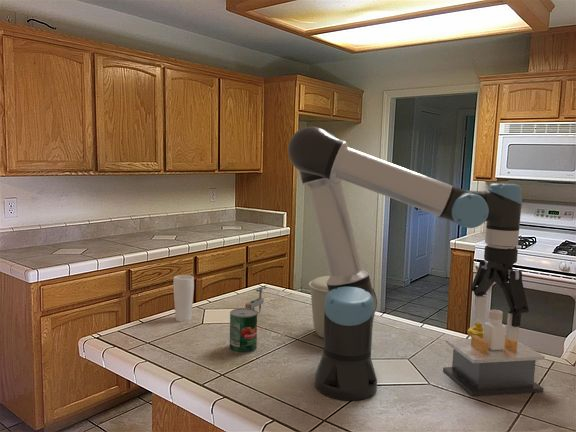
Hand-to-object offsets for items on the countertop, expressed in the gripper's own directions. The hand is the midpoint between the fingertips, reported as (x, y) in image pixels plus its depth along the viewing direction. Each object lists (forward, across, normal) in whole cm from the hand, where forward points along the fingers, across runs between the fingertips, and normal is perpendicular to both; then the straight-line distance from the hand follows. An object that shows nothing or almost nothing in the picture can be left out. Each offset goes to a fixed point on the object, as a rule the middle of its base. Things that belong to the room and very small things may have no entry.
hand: (494, 329), depth 120 cm
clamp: (+14, +57, +54) cm, 80 cm away
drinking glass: (+14, +55, +79) cm, 97 cm away
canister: (+14, +36, +31) cm, 49 cm away
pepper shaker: (+5, 0, 0) cm, 5 cm away
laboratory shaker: (+14, 0, 0) cm, 14 cm away
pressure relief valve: (+14, +12, -7) cm, 20 cm away
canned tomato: (+14, +28, +61) cm, 69 cm away
